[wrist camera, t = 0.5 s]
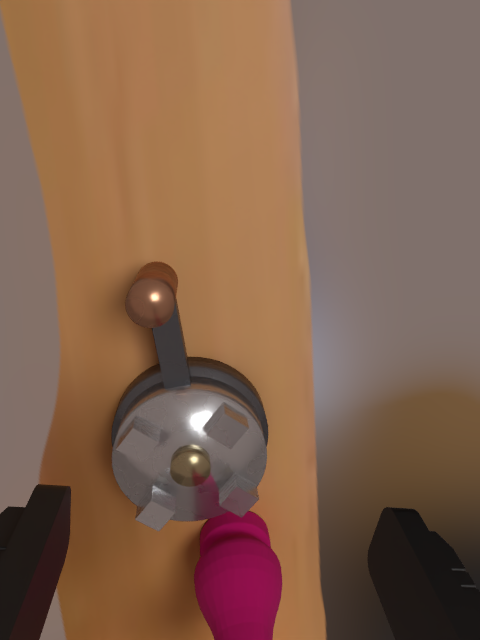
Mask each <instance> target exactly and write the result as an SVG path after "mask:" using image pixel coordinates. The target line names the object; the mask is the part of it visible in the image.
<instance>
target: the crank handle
mask: <svg viewBox="0 0 480 640" xmlns="http://www.w3.org/2000/svg"><path fill="white" fill-rule="evenodd" d="M177 287H178V278H177V275H176V273H175V271H174V270H173V269H172V268H171V267H170V266H169V265H167V264H165V263H162V262H151V263H148V264H146V265H145V266H143V267H142V268H141V270H140V271H139V273H138V275H137V277H136V279H135V281H134V283H133V285H132V287H131V289H130V291H129V293H128V295H127V297H126V302H125V306H126V311H127V313H128V315H129V317H130V318H131V319H132V320H133V321H134V322H135V323H136V324H138V325H140V326H142V327H147V328H152V331H153V335H154V340H155V345H156V349H157V354H158V359H159V363H160V368H161V373H162V377H163V381H162V382H159V383H157V384H155V385H153V386H151V387H150V388H148V389H146V390H145V391H143V392H142V393H141V394H140V395H139V396H137V397H136V398H135V399H134V400H133V402H132V403H131V404H130V405H129V406H128V408H127V409H126V411H125V413H124V415H123V417H122V419H121V422H120V426H119V429H118V432H117V436H116V439H115V443H114V446H113V452H112V467H113V472H114V476H115V478H116V481H117V483H118V485H119V487H120V488H121V490H122V491H123V492H124V494H125V495H126V496H127V497H128V498H129V499H130V500H131V501H132V502H133V503H134V504H136V505H137V511H136V517H135V520H137V521H139V522H141V523H143V524H145V525H147V526H149V527H151V528H153V529H155V530H157V531H160V530H161V529H162V527H163V526H164V525H165V524H166V523H167V522H168V521H169V519H170V520H176V521H198V520H205V519H209V518H213V517H216V516H219V515H222V514H224V513H226V512H229V511H230V512H232V513H234V514H236V515H238V516H240V517H241V518H242V517H243V516H244V515H245V514H246V512H247V511H248V510H249V509H250V508H251V507H252V506H253V505H254V504H255V503H256V502H257V501H258V500H259V497H258V491H257V486H258V484H259V483H260V481H261V479H262V477H263V474H264V471H265V467H266V461H267V449H266V444H265V439H264V435H263V431H262V426H261V422H260V419H259V416H258V414H257V412H256V410H255V408H254V407H253V405H252V404H251V403H250V401H249V400H248V399H247V398H246V397H245V396H244V395H243V394H242V393H241V392H239V391H238V390H236V389H235V388H233V387H232V386H230V385H228V384H226V383H224V382H221V381H218V380H215V379H211V378H207V377H199V376H191V374H190V369H189V363H188V358H187V353H186V347H185V342H184V337H183V331H182V326H181V321H180V315H179V310H178V305H177V299H176V293H177Z"/></svg>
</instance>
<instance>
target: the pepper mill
mask: <svg viewBox="0 0 480 640" xmlns="http://www.w3.org/2000/svg"><path fill="white" fill-rule="evenodd" d="M200 556H201V557H200V559H199V561H198V563H197V565H196V568H195V574H194V583H195V591H196V597H197V600H198V604H199V607H200V610H201V612H202V614H203V616H204V618H205V620H206V621H207V623H208V625H209V627H210V629H211V631H212V634H213V636H214V639H215V640H272V637H273V627H274V623H275V618H276V614H277V611H278V607H279V603H280V599H281V591H282V574H281V566H280V562H279V560H278V558H277V556H276V554H275V553H274V551H273V550H272V549H271V546H270V539H269V533H268V529H267V526H266V524H265V522H264V521H263V519H261V518H260V517H259V516H258V515H256V514H255V513H253V512H250V511H247V512H246V514H245V515H244V516H243V517H242V518H241V517H240V516H238V515H236V514H234V513H232V512H230V511H229V512H226V513H224V514H222V515H219V516H216V517H213V518H210V519H209V520H208V521H207V522H206V524H205V525H204V527H203V528H202V531H201V534H200Z"/></svg>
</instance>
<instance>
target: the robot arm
mask: <svg viewBox="0 0 480 640" xmlns="http://www.w3.org/2000/svg"><path fill="white" fill-rule="evenodd" d="M70 508H71V488H70V486H57V485H41V484H38V485H37V486H36V487H35V489H34V491H33V493H32V495H31V497H30V499H29V501H28V503H27V505H26V507H25V508H24V507H8V508H6V509H5V510H4V511H3V512H2V513H1V514H0V640H39V639H40V635H41V632H42V629H43V626H44V623H45V620H46V617H47V614H48V611H49V608H50V605H51V601H52V598H53V596H54V592H55V589H56V586H57V583H58V580H59V577H60V574H61V571H62V568H63V565H64V561H65V558H66V554H67V549H68V544H69V537H70ZM368 568H369V572H370V576H371V578H372V581H373V584H374V586H375V589H376V591H377V594H378V596H379V599H380V602H381V604H382V607H383V609H384V611H385V614H386V617H387V619H388V622H389V624H390V627H391V630H392V632H393V635H394V637H395V640H480V591H479V590H478V589H476V588H475V583H474V582H473V580H472V578H471V577H470V575H469V573H467V572H466V571H465V567H464V565H463V564H462V562H461V561H460V559H459V557H458V556H457V554H456V553H455V551H454V549H453V548H452V547H451V546H450V545H449V544H448V543H447V542H446V541H445V540H444V539H443V538H441V536H439V535H438V534H437V533H436V532H434V531H429V530H428V528H427V526H426V525H425V523H424V521H423V520H422V518H421V516H420V515H419V513H418V512H417V511H416V510H414V509H406V508H390V507H386V508H384V509H383V511H382V513H381V516H380V518H379V521H378V524H377V527H376V530H375V532H374V535H373V538H372V541H371V544H370V547H369V550H368Z"/></svg>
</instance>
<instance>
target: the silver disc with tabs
mask: <svg viewBox="0 0 480 640" xmlns="http://www.w3.org/2000/svg"><path fill="white" fill-rule="evenodd" d="M187 358H188V363H189V369H190V374H191V376H199V377H207V378H211V379H215V380H218V381H221V382H224V383H226V384H228V385H230V386H232V387H233V388H235V389H236V390H238V391H239V392H241V393H242V394H243V395H244V396H245V397H246V398H247V399H248V400H249V401H250V403H251V404H252V405H253V407H254V408H255V410H256V412H257V414H258V416H259V419H260V422H261V426H262V431H263V435H264V439H265V444H266V446H267V442H268V424H267V419H266V415H265V411H264V408H263V404H262V401H261V398H260V396H259V394H258V392H257V390H256V389H255V387H254V386H253V385H252V383H251V382H250V381H249V380H248V379H247V378H246V377H245V376H244V375H243V374H241V373H240V372H239V371H237V370H236V369H234V368H232V367H231V366H229V365H227V364H224V363H222V362H220V361H216V360H212V359H208V358H201V357H187ZM162 381H163V377H162V373H161V368H160V363H159V364H157V365H155V366H153V367H150V368H149V369H147V370H146V371H144V372H143V373H141V374H140V375H139V376H138V377H137V378H136V379H134V381H133V382H132V383H131V384H130V385H129V386H128V388H127V389H126V391H125V392H124V394H123V396H122V398H121V400H120V402H119V406H118V409H117V412H116V415H115V418H114V422H113V426H112V446H114V443H115V439H116V436H117V432H118V429H119V426H120V422H121V419H122V417H123V415H124V413H125V411H126V409H127V408H128V406H129V405H130V404H131V403H132V402H133V400H134V399H135V398H136V397H137V396H139V395H140V394H141V393H142V392H143V391H145V390H146V389H148V388H150V387H151V386H153V385H155V384H157V383H159V382H162Z"/></svg>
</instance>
